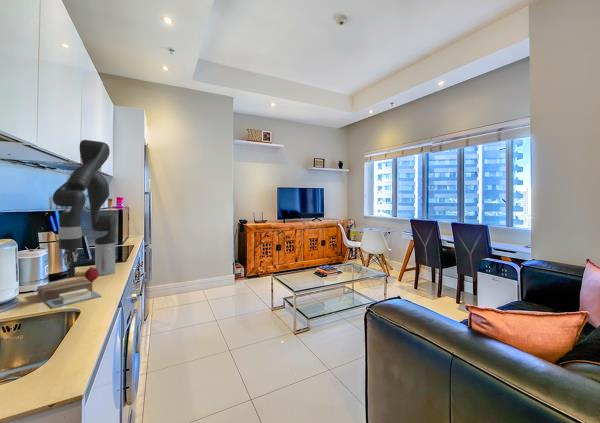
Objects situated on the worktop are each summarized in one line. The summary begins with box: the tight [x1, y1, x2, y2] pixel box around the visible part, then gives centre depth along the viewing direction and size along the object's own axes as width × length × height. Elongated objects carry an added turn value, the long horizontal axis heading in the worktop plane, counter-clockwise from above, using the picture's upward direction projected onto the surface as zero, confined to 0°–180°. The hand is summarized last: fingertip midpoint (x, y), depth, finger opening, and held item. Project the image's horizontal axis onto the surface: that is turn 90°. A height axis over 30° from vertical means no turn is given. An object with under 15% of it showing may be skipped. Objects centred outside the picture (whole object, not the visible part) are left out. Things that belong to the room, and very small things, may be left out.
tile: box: [59, 289, 91, 304], centre depth 111 cm, size 6×9×2 cm, turn 145°
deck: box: [37, 277, 93, 303], centre depth 118 cm, size 12×16×4 cm
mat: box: [45, 290, 102, 309], centre depth 112 cm, size 10×16×1 cm, turn 145°
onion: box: [84, 265, 100, 283], centre depth 135 cm, size 6×6×8 cm
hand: (71, 276), depth 114 cm, fingers closed
